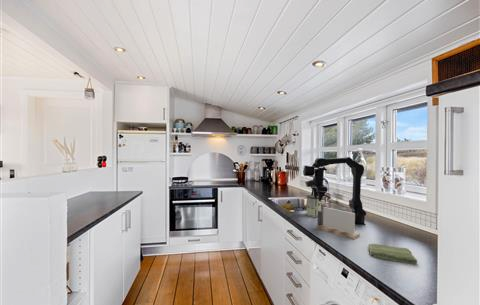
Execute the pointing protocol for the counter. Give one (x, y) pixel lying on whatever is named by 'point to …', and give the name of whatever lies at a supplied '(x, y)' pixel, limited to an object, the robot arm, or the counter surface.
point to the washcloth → (392, 253)
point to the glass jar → (313, 206)
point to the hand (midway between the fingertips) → (317, 199)
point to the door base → (331, 230)
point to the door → (338, 220)
